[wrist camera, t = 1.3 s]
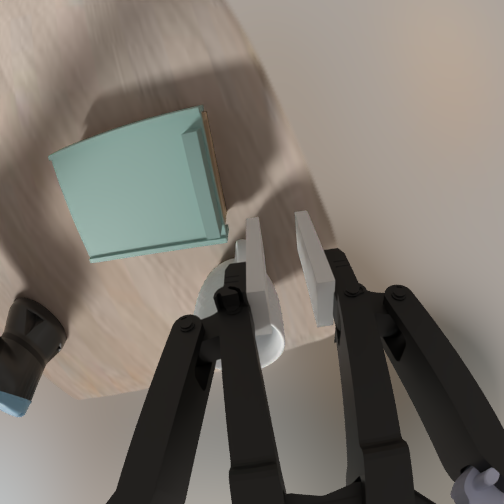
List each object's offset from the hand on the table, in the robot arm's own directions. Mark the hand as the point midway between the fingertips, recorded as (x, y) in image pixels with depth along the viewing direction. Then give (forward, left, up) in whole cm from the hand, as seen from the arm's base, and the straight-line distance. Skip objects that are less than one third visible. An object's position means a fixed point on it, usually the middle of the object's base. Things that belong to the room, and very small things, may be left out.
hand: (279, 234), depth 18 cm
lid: (-14, 0, -16) cm, 21 cm away
